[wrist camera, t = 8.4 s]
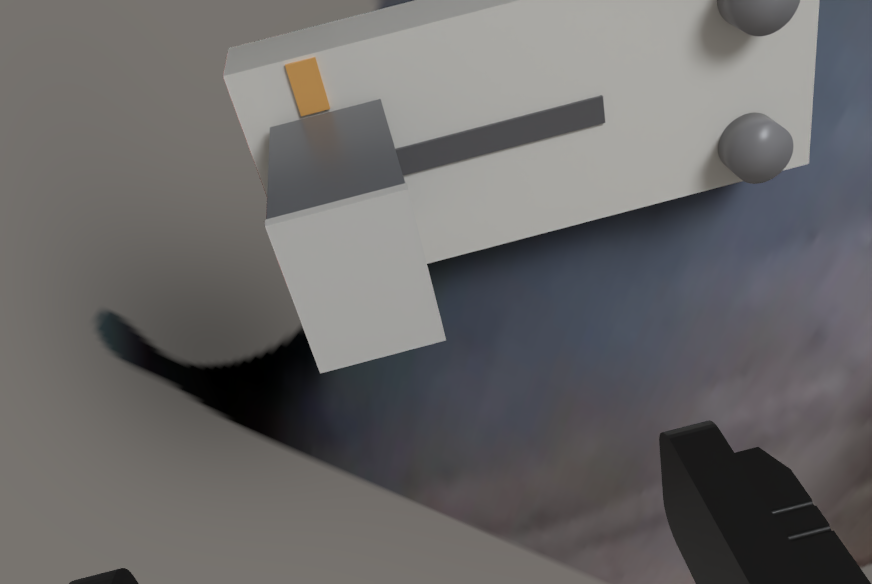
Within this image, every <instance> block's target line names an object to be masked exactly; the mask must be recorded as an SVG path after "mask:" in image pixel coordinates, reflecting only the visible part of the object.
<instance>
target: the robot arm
mask: <svg viewBox="0 0 872 584" xmlns="http://www.w3.org/2000/svg"><path fill="white" fill-rule="evenodd" d="M659 442H660V457H661V472H662V487H663V500H664V507H665V512H666V516H667V519H668V523H669V526H670V529H671V531H672V534H673V537H674V539H675V541H676V543H677V546H678V548H679V550H680V552H681V554H682V556H683V558H684V560H685V562H686V564H687V566H688V568H689V570H690V572H691V574H692V576H693V578H694V580H695V582H696V584H871V583H870V582H869V580H868V579H867V577H866V576H865V574H864V573H863V572H862V570H861V569H860V567H859V566H858V565H857V563H856V562H855V560H854V559H853V557H852V556H851V555H850V553H849V552H848V550H847V549H846V547H845V546H844V545H843V543H842V542H841V540H840V539H839V538H838V536H837V535H836V533H835V532H834V531H831V529H830V526H829V523H828V522H827V520H826V519H825V518H824V516H823V515H822V513H821V512H820V510H819V509H818V508H817V506H814V505H813V503H812V499H811V498H810V496H809V495H808V493H807V492H806V491H805V489H804V488H803V486H802V485H801V483H800V482H799V481H798V479H797V478H796V476H795V475H794V474H793V472H792V471H791V469H789V468H788V467H786V466H785V465H784V464H782V463H781V462H779V461H778V460H776V459H775V458H773V457H772V456H771V455H769V454H768V453H766V452H765V451H763V450H762V449H761V448H759V447H756V448H752V449H748V450H744V451H740V452H736V453H734V452H733V450H732V449H731V447H730V445H729V444H728V442H727V441H726V439H725V438H724V436H723V435H722V433H721V431H720V430H719V428H718V427H717V426H716V425H715V423H713V422H712V421H705V422H701V423H698V424H694V425H690V426H686V427H682V428H678V429H674V430H670V431H666V432H662V433H661V434H660V438H659ZM69 584H138V582H137V581H136V579H135V578H134V576H133V575H132V574H131V572H129V570H127V569H125V568H121V569H117V570H113V571H109V572H105V573H101V574H97V575H94V576H90V577H86V578H82V579H78V580H74V581H72V582H70V583H69Z"/></svg>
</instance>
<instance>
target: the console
mask: <svg viewBox="0 0 872 584" xmlns="http://www.w3.org/2000/svg"><path fill="white" fill-rule="evenodd" d="M818 13H819V0H415V1H411V2H407V3H403V4H399V5H395V6H391V7H387V8H383V9H379V10H376V11H372V12H368V13H364V14H360V15H356V16H352V17H348V18H345V19H340V20H337V21H333V22H329V23H325V24H321V25H317V26H313V27H309V28H305V29H301V30H297V31H294V32H290V33H286V34H282V35H278V36H274V37H270V38H267V39H262V40H258V41H255V42H251V43H247V44H243V45H239V46H235V47H231V48H228V53H227V58H226V64H225V69H224V73H223V78H224V81H225V83H226V86H227V89H228V92H229V95H230V97H231V100H232V102H233V105H234V108H235V111H236V114H237V116H238V119H239V122H240V125H241V127H242V130H243V133H244V135H245V138H246V141H247V144H248V146H249V149H250V152H251V155H252V157H253V160H254V163H255V166H256V168H257V171H258V174H259V176H260V179H261V182H262V185H263V187H264V190H265V193H266V196H267V188H268V161H269V135H270V127H273V126H277V125H281V124H285V123H289V122H293V121H296V120H300V119H304V118H308V117H312V116H316V115H320V114H324V113H327V112H331V111H335V110H339V109H343V108H347V107H351V106H355V105H358V104H362V103H366V102H370V101H374V100H378V99H381V102H382V106H383V109H384V112H385V116H386V119H387V123H388V126H389V130H390V133H391V136H392V140H393V143H394V147H395V150H396V153H397V157H398V160H399V164H400V167H401V170H402V174H403V177H404V181H405V183H406V184H407V187H408V191H409V195H410V199H411V203H412V207H413V211H414V215H415V219H416V223H417V227H418V231H419V235H420V239H421V242H422V246H423V250H424V254H425V258H426V262H427V264H428V263H432V262H436V261H440V260H444V259H447V258H451V257H455V256H459V255H463V254H467V253H470V252H474V251H478V250H482V249H486V248H489V247H493V246H497V245H501V244H505V243H508V242H512V241H516V240H520V239H524V238H528V237H531V236H535V235H539V234H543V233H547V232H550V231H554V230H558V229H562V228H566V227H569V226H573V225H577V224H581V223H585V222H589V221H592V220H596V219H600V218H604V217H608V216H611V215H615V214H619V213H623V212H627V211H630V210H634V209H638V208H642V207H646V206H650V205H653V204H657V203H661V202H665V201H669V200H672V199H676V198H680V197H684V196H688V195H691V194H695V193H699V192H703V191H707V190H711V189H714V188H718V187H722V186H726V185H730V184H733V183H737V182H741V181H744V182H747V183H753V184H756V183H763V182H766V181H768V180H770V179H772V178H774V177H775V176H777V175H778V174H779V173H780V172H781V171H783V170H787V169H791V168H794V167H798V166H802V165H806V164H809V152H810V137H811V121H812V106H813V90H814V75H815V60H816V44H817V29H818Z"/></svg>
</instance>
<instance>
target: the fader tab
mask: <svg viewBox="0 0 872 584" xmlns="http://www.w3.org/2000/svg"><path fill="white" fill-rule="evenodd" d="M265 228H266V231H267V234H268V236H269V239H270V241H271V244H272V247H273V250H274V252H275V255H276V258H277V260H278V263H279V266H280V268H281V271H282V274H283V276H284V279H285V282H286V284H287V287H288V289H289V292H290V295H291V297H292V300H293V303H294V305H295V308H296V311H297V313H298V316H299V319H300V321H301V324H302V327H303V329H304V332H305V335H306V337H307V340H308V343H309V345H310V348H311V351H312V353H313V356H314V359H315V361H316V364H317V366H318V369H319V372H320V373H324V372H328V371H332V370H335V369H339V368H343V367H347V366H350V365H354V364H358V363H362V362H366V361H369V360H373V359H377V358H381V357H385V356H388V355H392V354H396V353H400V352H403V351H407V350H411V349H415V348H419V347H422V346H426V345H430V344H434V343H438V342H441V341H445V340H446V338H445V334H444V330H443V326H442V322H441V318H440V314H439V310H438V306H437V302H436V298H435V294H434V290H433V286H432V282H431V278H430V274H429V270H428V266H427V262H426V258H425V254H424V250H423V246H422V242H421V239H420V235H419V231H418V227H417V223H416V219H415V215H414V211H413V207H412V203H411V199H410V195H409V191H408V187H407V184H406V183H405V181H404V177H403V174H402V170H401V167H400V164H399V160H398V157H397V153H396V150H395V147H394V143H393V140H392V136H391V133H390V130H389V126H388V123H387V119H386V116H385V112H384V109H383V106H382V102H381V99H378V100H374V101H370V102H366V103H362V104H358V105H355V106H351V107H347V108H343V109H339V110H335V111H331V112H327V113H324V114H320V115H316V116H312V117H308V118H304V119H300V120H296V121H293V122H289V123H285V124H281V125H277V126H273V127H270V135H269V161H268V188H267V215H266V220H265Z"/></svg>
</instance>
